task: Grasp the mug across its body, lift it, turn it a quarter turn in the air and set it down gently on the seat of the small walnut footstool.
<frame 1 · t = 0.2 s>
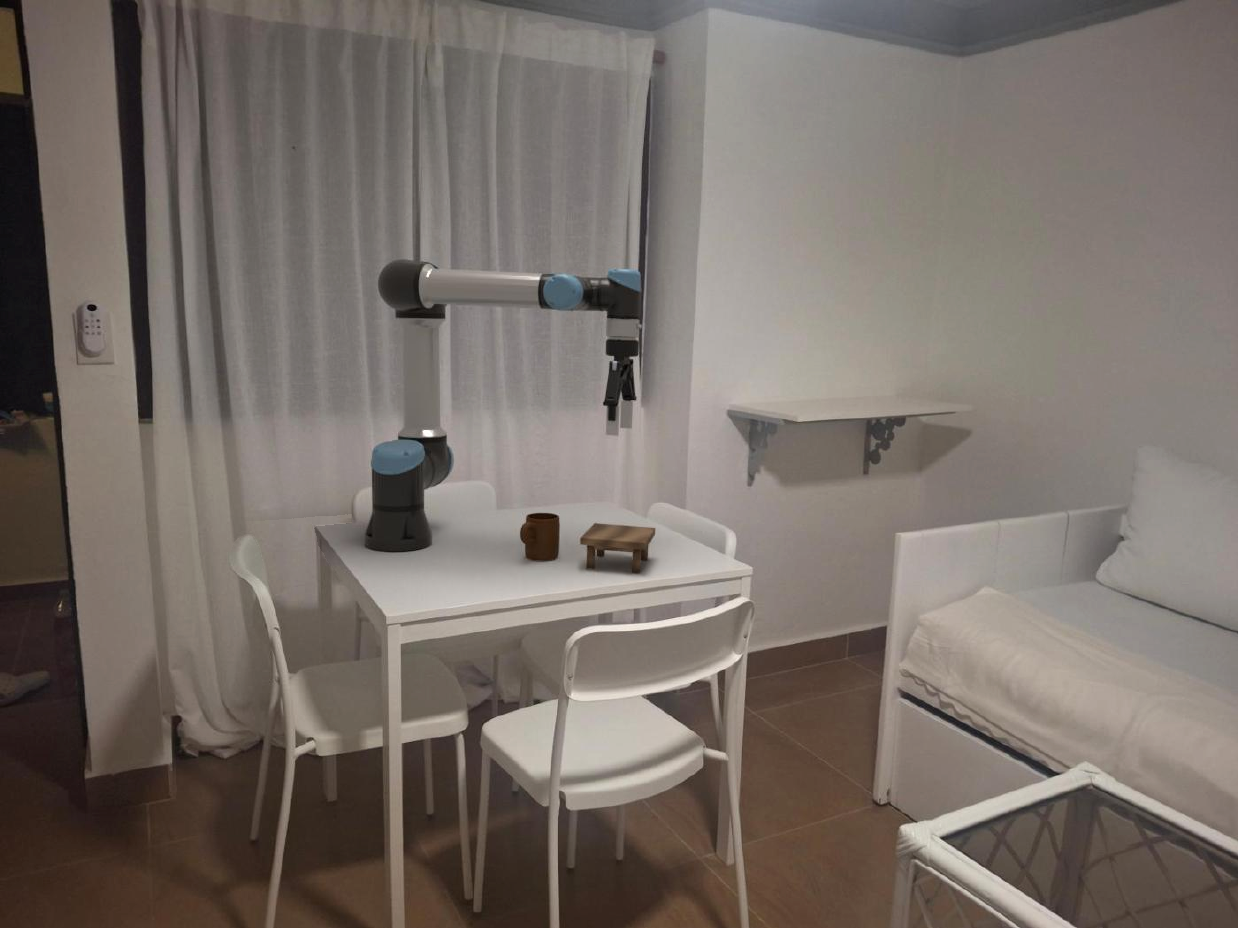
hand: (619, 431, 208), 27 cm above the table, fingers open, 13 cm apart
mug: (536, 560, 200), on the table
stool: (617, 563, 199), on the table
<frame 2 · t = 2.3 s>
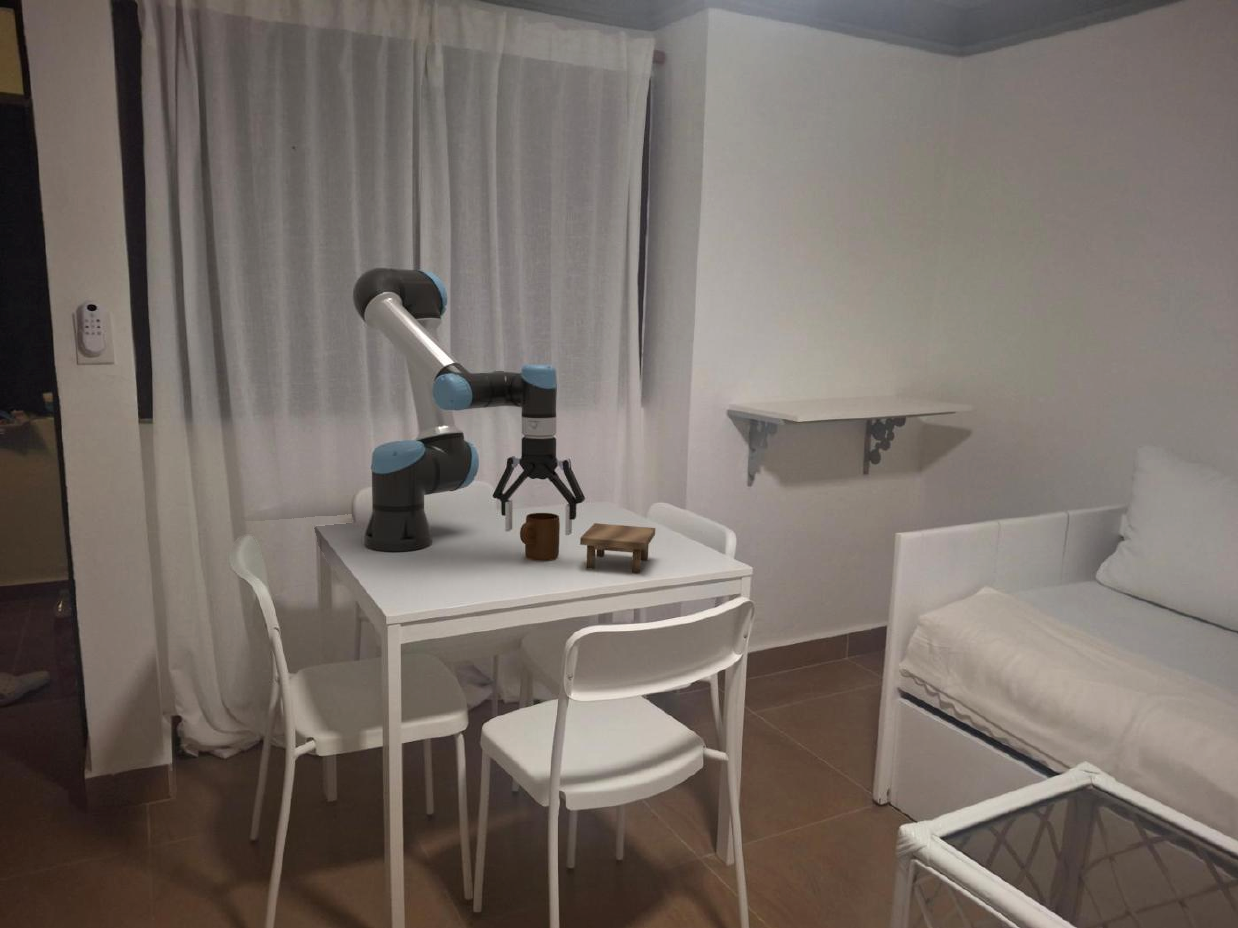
hand: (538, 532, 199), 6 cm above the table, fingers open, 13 cm apart
nothing on the table moved.
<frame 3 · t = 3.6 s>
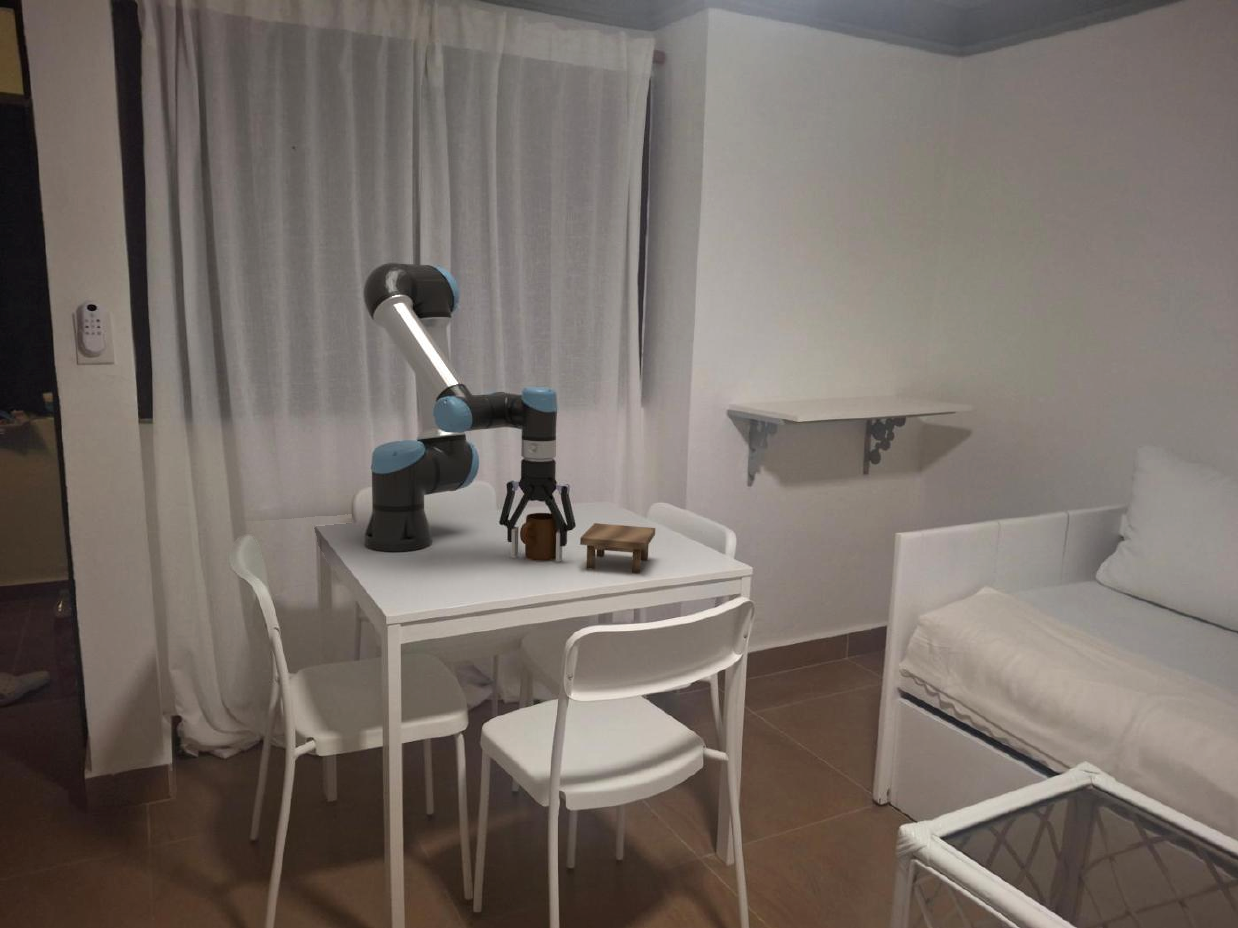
hand: (536, 558, 200), 0 cm above the table, fingers open, 9 cm apart
nothing on the table moved.
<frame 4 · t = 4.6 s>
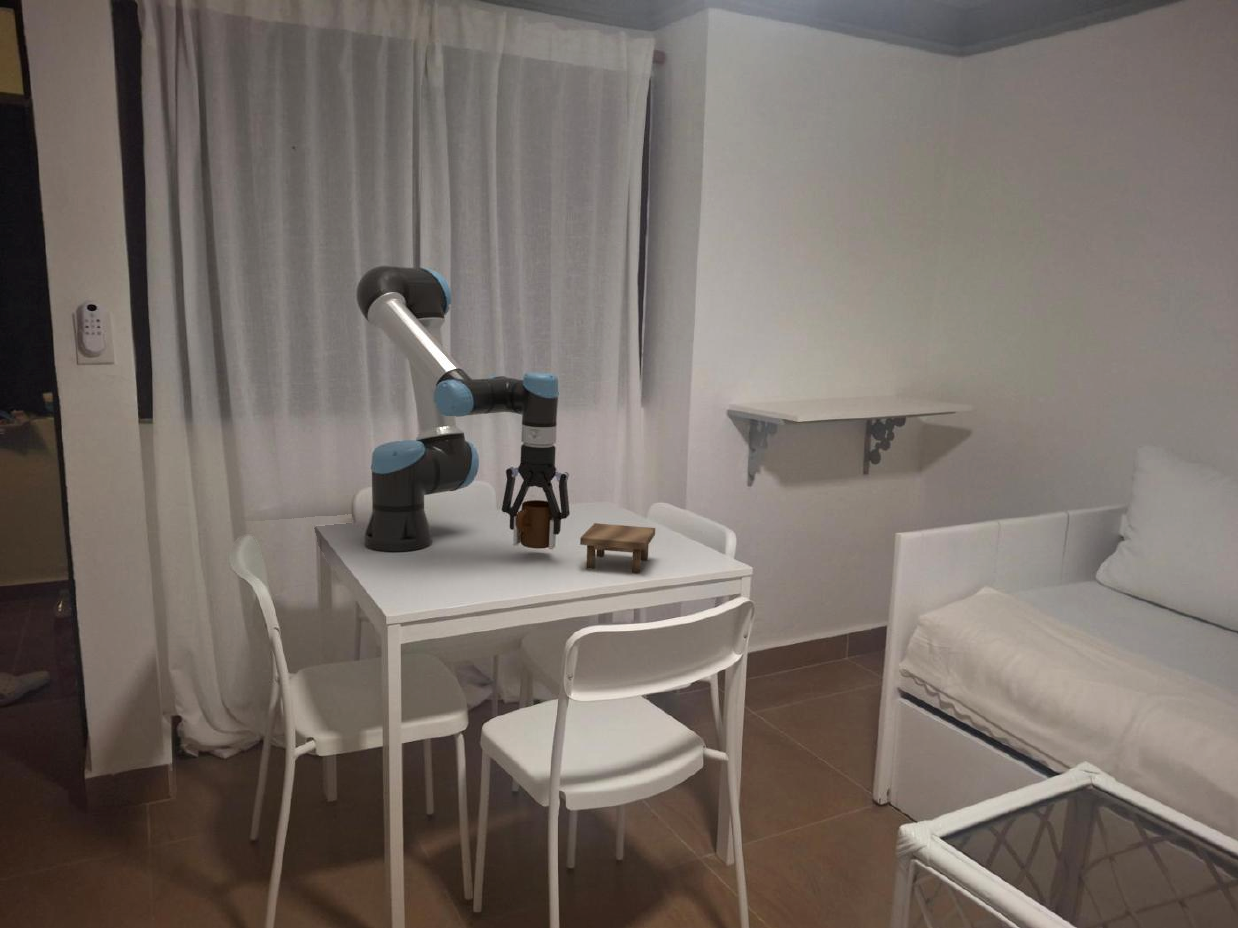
hand: (534, 545, 200), 3 cm above the table, fingers closed on mug, 7 cm apart
mug: (531, 547, 200), point 2 cm above the table, touching gripper
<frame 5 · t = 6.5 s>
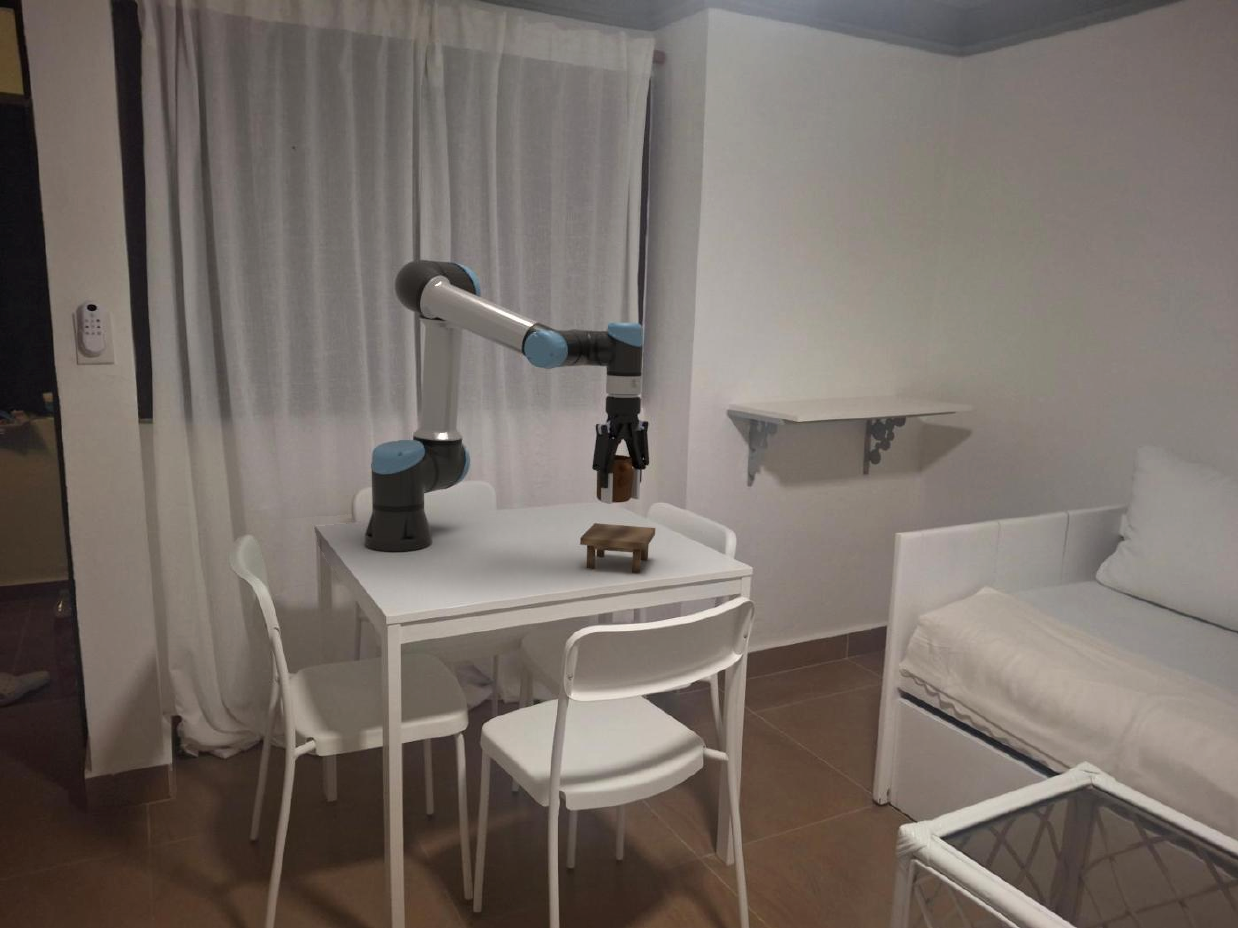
hand: (620, 500, 196), 14 cm above the table, fingers closed on mug, 7 cm apart
mug: (617, 502, 196), point 14 cm above the table, touching gripper
when the fingers open (8 cm above the table, at t = 8.5 s): mug stays where it is, resting on stool.
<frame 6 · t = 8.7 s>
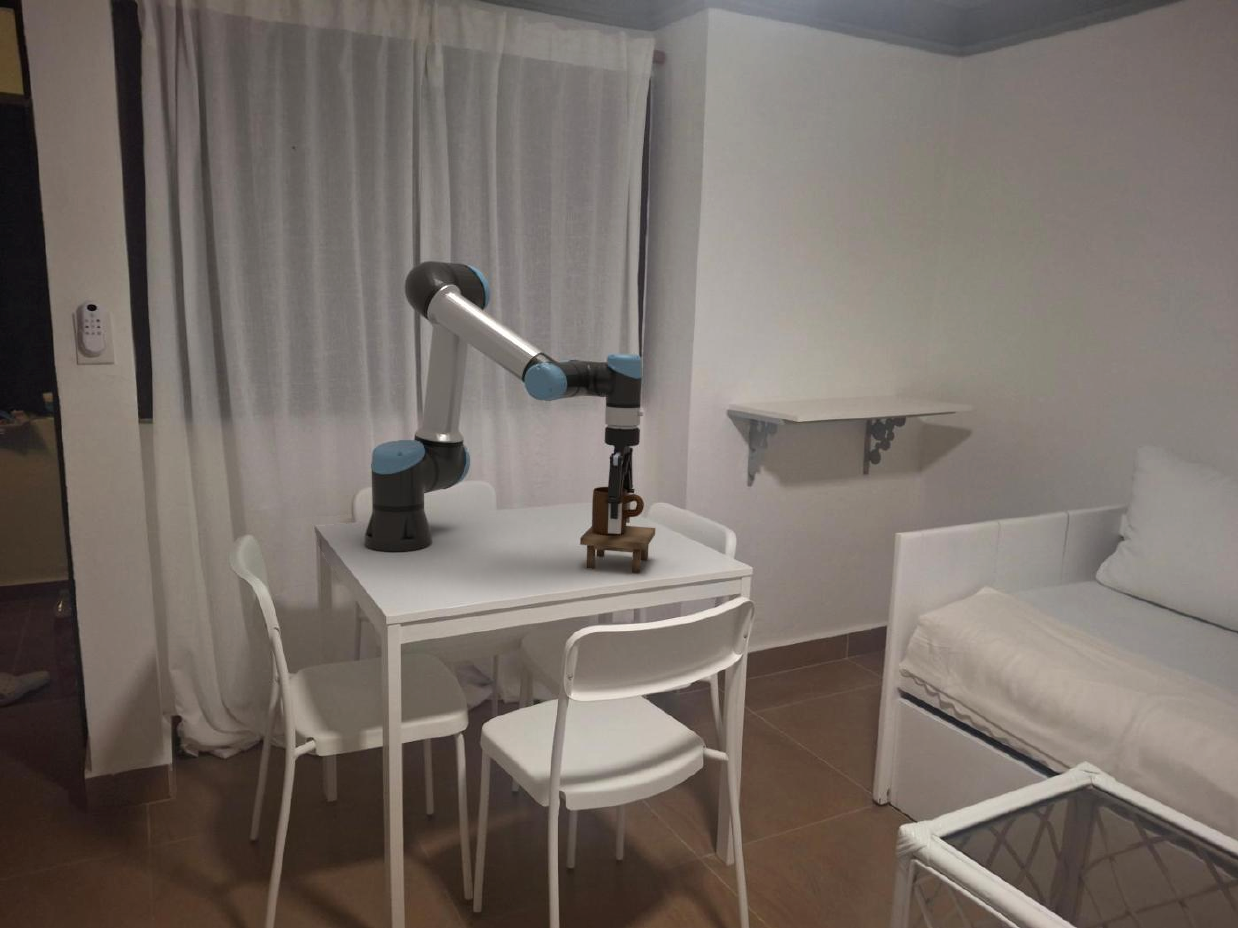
hand: (619, 527, 197), 8 cm above the table, fingers open, 10 cm apart
mug: (617, 534, 197), point 7 cm above the table, touching stool
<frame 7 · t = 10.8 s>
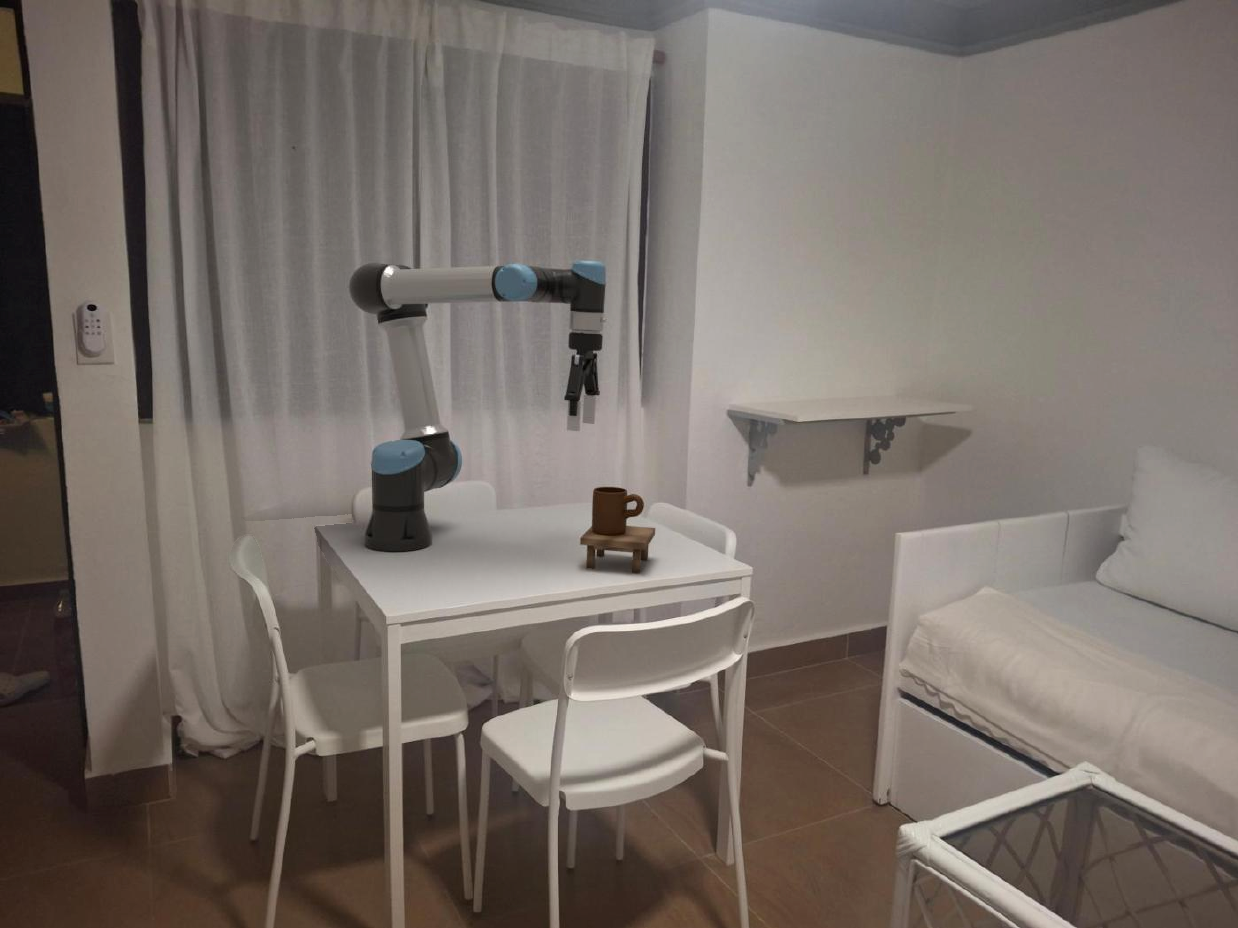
hand: (581, 427, 204), 29 cm above the table, fingers open, 13 cm apart
nothing on the table moved.
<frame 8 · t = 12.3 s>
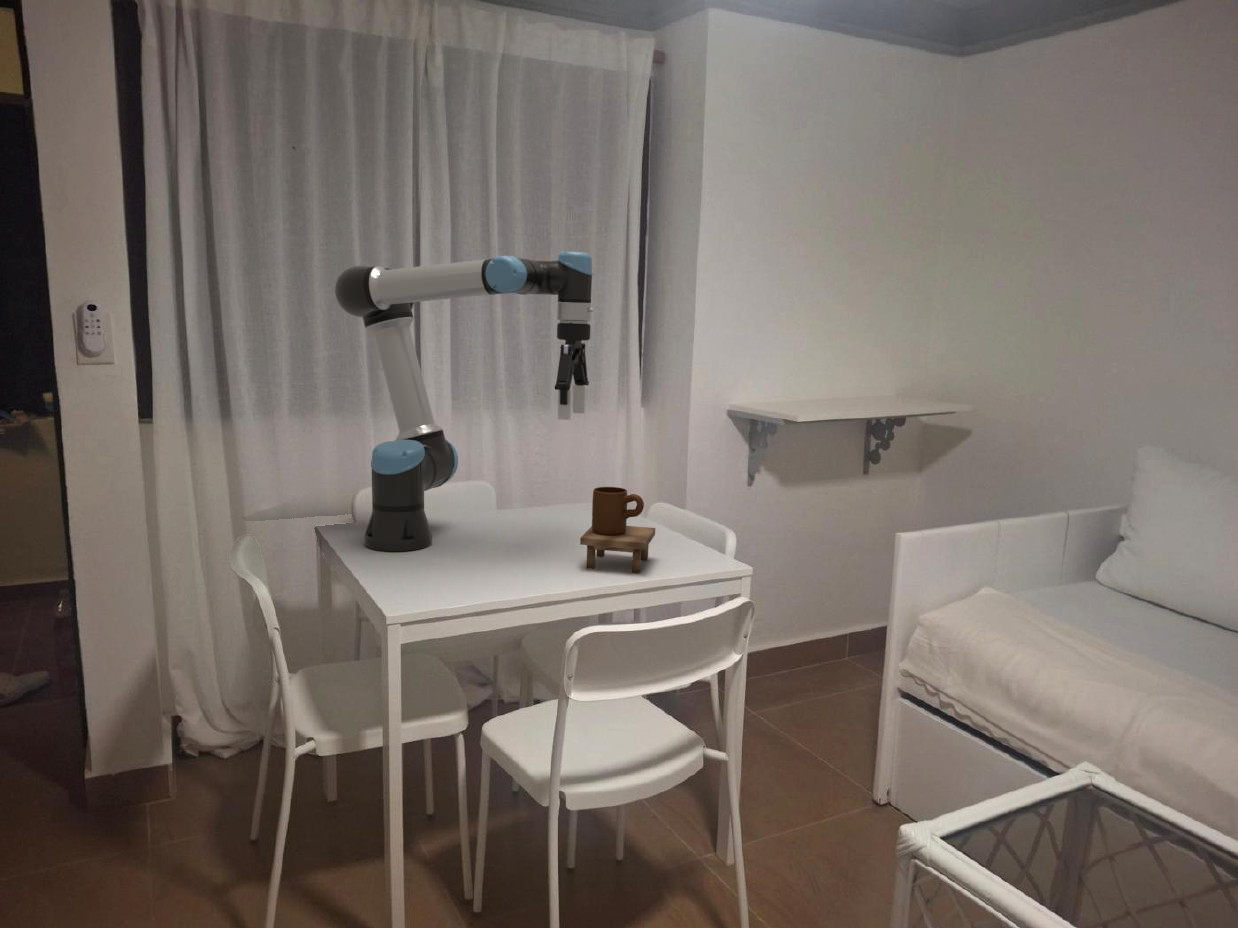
hand: (571, 416, 207), 31 cm above the table, fingers open, 13 cm apart
nothing on the table moved.
at the end: mug inside the target area on the stool (0.6 cm from its centre), point 6.8 cm above the stool's base; mug tilted 0°; the gripper is holding nothing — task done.
